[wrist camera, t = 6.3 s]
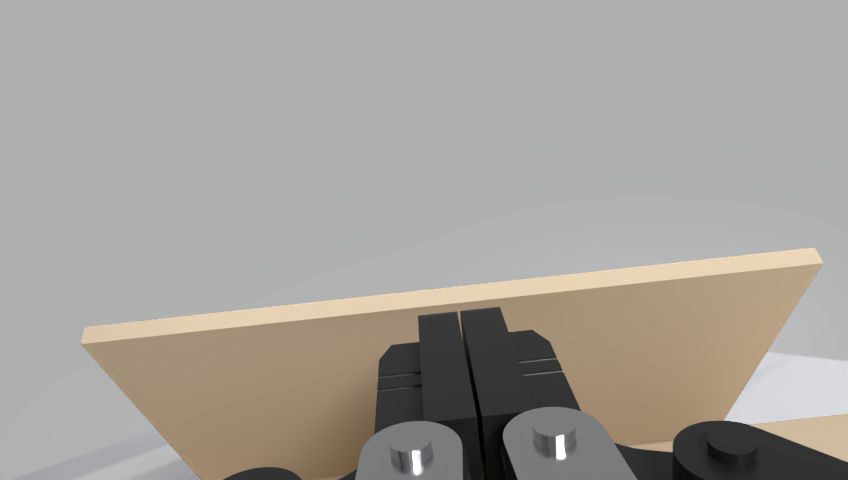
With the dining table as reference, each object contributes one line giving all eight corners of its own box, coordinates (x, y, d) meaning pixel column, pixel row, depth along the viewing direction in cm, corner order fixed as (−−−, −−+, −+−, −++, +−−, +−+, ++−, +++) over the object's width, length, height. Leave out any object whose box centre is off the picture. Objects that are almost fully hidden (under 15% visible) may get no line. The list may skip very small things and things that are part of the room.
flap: (210, 490, 20) (80, 344, 14) (211, 477, 21) (85, 327, 14) (714, 435, 21) (823, 262, 14) (709, 422, 21) (814, 247, 14)
